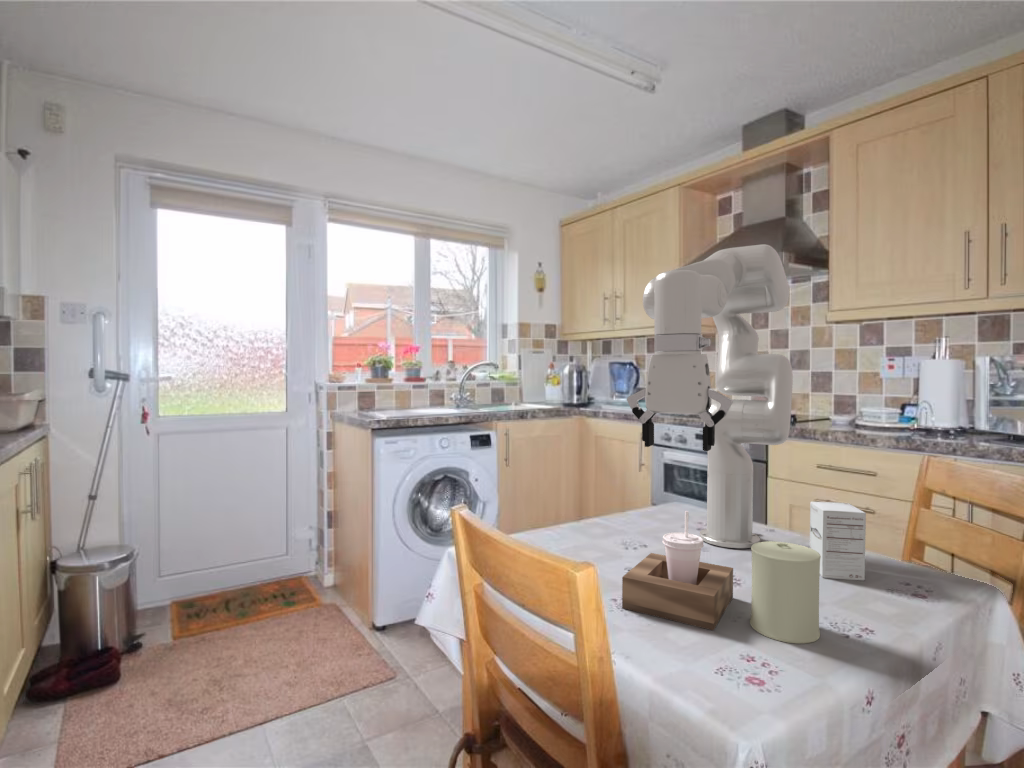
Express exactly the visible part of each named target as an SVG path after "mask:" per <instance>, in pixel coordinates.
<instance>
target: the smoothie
mask: <svg viewBox="0 0 1024 768" xmlns="http://www.w3.org/2000/svg"><path fill="white" fill-rule="evenodd" d="M662 544H663V545H664V551H665V556H666V560H667V569H668V578H669V580H674V581H679V582H684V583H689V584H694V585H696V582H697V575H698V568H699V562H701V552H702V548H703V547H704V541H703V539H702V538H701V537H700V535H696V534H693V533H689V510H685V511H684V532H681V531H680V532H678V531H677V532H675V531H674V532H668V533H665V534H663V536H662Z"/></svg>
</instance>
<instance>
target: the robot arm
mask: <svg viewBox="0 0 1024 768" xmlns="http://www.w3.org/2000/svg"><path fill="white" fill-rule="evenodd" d="M789 299H790V285H789V282H788V278H787V275H786V272H785V268H784V265H783V262H782V259H781V257H780V255H779V253H778V252H777V250H776V249H775V248H774V247H773V246H772V245H769V244H765V243H764V244H756V245H755V244H754V245H745V246H737V247H736V246H735V247H729V248H724V249H719V250H717V251H715V252H713V253H712V254H711V255H709V256H708V257H707V258H705V259H703V260H701V261H697V262H693V263H690V264H687V265H685V266H682V267H679V268H675V269H672V270H667V271H664V272H661V273H659V274H658V275H656V276H655V277H654V278H652V279H651V280H650V281H649V282H648V283H647V284H646V286H645V288H644V291H643V295H642V306H643V309H644V311H645V313H646V315H647V316H648V317H649V318H650V319H652V320H654V323H653V324H654V330H653V331H654V338H653V339H654V340H653V341H654V343H653V344H654V347H653V348H654V350H653V351H654V354H651V355H650V358H649V363H648V366H647V367H648V368H647V374H646V381H645V382H646V385H645V388H643V389H641V390H639V391H638V392H635V393H634V394H631V395H629V396H628V397H627V398H626V401H627V403H628V405H629V407H630V409H631V412H632V414H633V415H634V416H635V417H636V418H637V419H638V420H639V423H641V440H642V442H644V448H649V447H651V446H654V445H655V423H654V422H653V418H655V416H656V415H657V414H669V415H697V416H698V417H699V418H700V419H701V420H702V421H703V425H704V426H703V427H702V451H703V452H707V471H706V472H707V473H706V474H707V477H706V478H707V481H706V482H707V484H706V487H707V489H706V490H707V491H706V493H707V494H706V497H707V498H706V501H707V502H706V503H707V504H706V528H704V529H701V530H700V531H699V537H701V538H702V539H703V542H705V543H708V544H710V545H713V546H716V547H720V548H728V549H751V546H752V545H753V544H755V543H758V542H761V538H760V536H758V535H757V534H755V533H753V527H754V526H753V522H754V521H753V520H754V518H753V516H754V511H753V510H754V509H753V507H754V506H753V504H754V503H753V502H754V462H753V460H752V457H751V456H750V454H749V453H748V451H747V450H746V449H745V448H744V446H743V445H742V444H750V445H751V444H754V445H764V446H765V445H767V446H770V445H771V446H778V445H783V444H784V443H785V442H786V441H787V440H788V438H789V434H790V430H791V429H790V428H791V414H792V398H793V385H794V384H793V382H794V381H793V378H794V376H793V367H792V364H791V362H790V360H789V358H788V357H786V356H785V355H783V354H779V353H758V349H759V334H758V332H757V331H756V329H755V328H754V327H753V326H752V324H750V322H749V321H747V320H746V319H745V318H744V317H743V316H742V315H741V314H759V313H760V314H761V313H776V312H779V311H782V310H783V309H784V308H785V307H786V306H788V305H787V304H788V303H789ZM706 318H707V319H708V318H712V319H713V320H712V321H713V322H714V324H715V327H716V331H717V333H718V346H717V347H718V350H717V356H716V357H717V358H716V366H715V367H716V368H715V379H714V381H715V387H716V388H717V390H718V391H717V390H714V389H712V386H711V375H710V374H711V372H710V365H709V360H708V356H707V353H705V354H703V353H702V351H703V349H704V348H707V347H711V338H708V337H707V338H706V337H704V336H703V334H702V319H706ZM725 395H726V396H725ZM728 396H737V397H760V398H761V397H762V398H763V397H765V398H766V399H767V400H762V399H761V400H759V399H757V400H755V399H753V400H752V399H751V400H750V399H737V398H736V399H732V398H730V397H728ZM644 398H645V407H646V410H645V411H644V409H643V408H642V407H641V406H640V404H639V401H640V400H642V399H644ZM712 400H713V401H712Z"/></svg>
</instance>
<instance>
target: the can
mask: <svg viewBox="0 0 1024 768" xmlns="http://www.w3.org/2000/svg"><path fill="white" fill-rule="evenodd" d="M750 549H751V602H750V603H751V608H750V619H749V623H750V624H749V625H750V626H751V627H752V629H753V630H754V631H755V632H757V633H759V634H760V635H762V636H764V637H767V638H769V639H772V640H774V641H779V642H782V643H783V642H784V643H786V644H787V643H789V644H797V645H798V644H800V645H801V644H804V645H805V644H812V643H814V642H817V641H818V640H819V639H820V638H821V631H820V576H821V575H820V558H821V556H820V554H819V553H818V552H817V551H815V550H813V549H811V548H810V547H808V546H804V545H800V544H797V543H791V542H786V541H770V540H768V541H767V540H766V541H760V542H758V543H755V544H753V545H752V546H751V548H750Z"/></svg>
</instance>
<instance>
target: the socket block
mask: <svg viewBox="0 0 1024 768" xmlns="http://www.w3.org/2000/svg"><path fill="white" fill-rule="evenodd" d="M621 580H622V582H621V583H622V587H621V588H622V589H621V590H622V592H621V594H622V595H621V596H622V597H621V604H622V605H621V609H624V610H629V611H633V612H635V613H640V614H645V615H647V616H648V615H649V616H654V617H657V618H661V619H665V620H668V621H669V620H670V621H674V622H676V623H677V622H678V623H682V624H685V625H690V626H693V627H697V628H701V629H707V630H709V631H714V630H715V629H716V628H717V625H718V624H719V622H720V620H721V619H722V617H723V615H724V613H725V612H726V610H727V608H728V607H729V605H730V604H731V602H732V600H733V599H734V567H731V566H730V567H729V566H724V565H720V564H713V563H708V562H702V561H699V568H698V575H697V582H696V585H694V584H689V583H684V582H679V581H674V580H669V578H668V569H667V560H666V554H665V555H664V554H659V553H653V552H650V553H649V554H648V555H647V556H645V558H643V559H642V560H641V561H639V562H638V563H637V564H636V565H635V566H634V567H632V568H631V569H629V571H628V572H627V573H625V574H624V575H623V576H622V579H621Z"/></svg>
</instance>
